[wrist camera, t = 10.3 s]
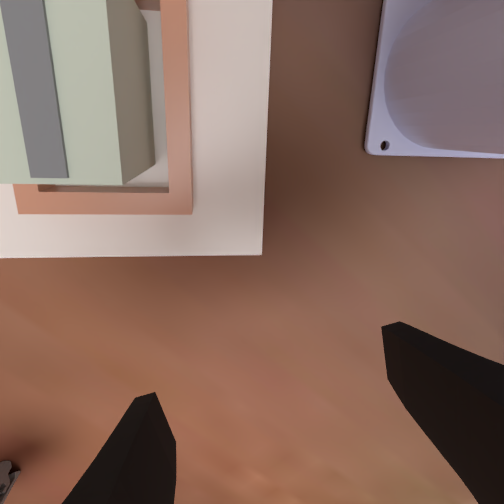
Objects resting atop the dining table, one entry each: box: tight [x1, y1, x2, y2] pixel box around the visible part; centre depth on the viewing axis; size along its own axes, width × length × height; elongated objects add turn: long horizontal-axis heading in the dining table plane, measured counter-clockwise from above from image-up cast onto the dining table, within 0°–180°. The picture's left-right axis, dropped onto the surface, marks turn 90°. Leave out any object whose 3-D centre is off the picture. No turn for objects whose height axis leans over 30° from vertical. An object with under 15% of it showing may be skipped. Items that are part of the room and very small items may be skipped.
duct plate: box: [0, 0, 273, 258], centre depth 15 cm, size 15×15×3 cm
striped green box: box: [0, 0, 156, 185], centre depth 12 cm, size 6×4×7 cm, turn 177°
